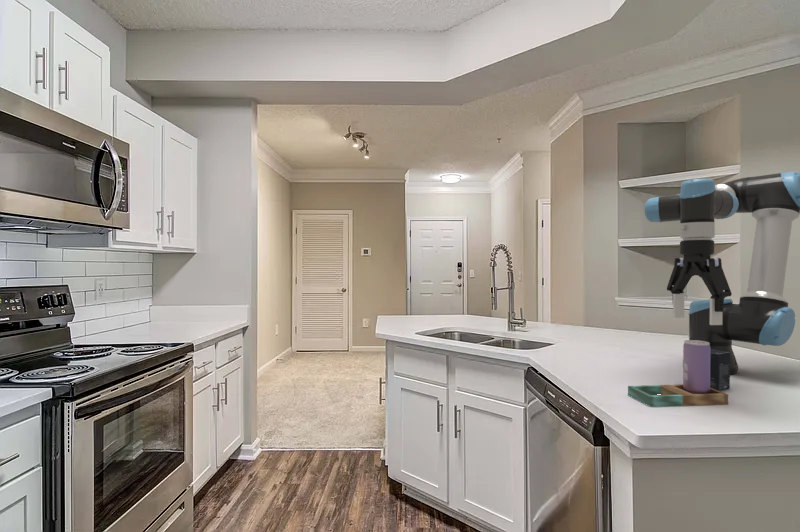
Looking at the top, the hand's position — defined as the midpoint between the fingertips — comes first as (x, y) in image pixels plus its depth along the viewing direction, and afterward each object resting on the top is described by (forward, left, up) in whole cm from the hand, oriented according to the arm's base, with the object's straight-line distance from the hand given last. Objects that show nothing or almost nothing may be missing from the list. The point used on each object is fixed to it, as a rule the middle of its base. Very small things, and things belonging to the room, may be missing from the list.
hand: (696, 321), depth 119 cm
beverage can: (0, 0, -21) cm, 21 cm away
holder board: (+5, 0, -20) cm, 21 cm away
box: (-12, -10, -21) cm, 26 cm away
